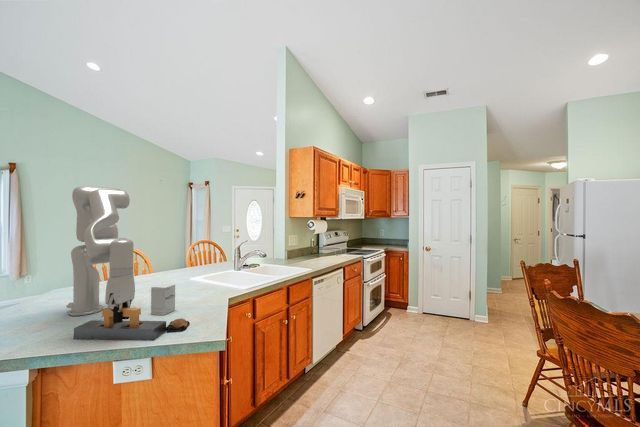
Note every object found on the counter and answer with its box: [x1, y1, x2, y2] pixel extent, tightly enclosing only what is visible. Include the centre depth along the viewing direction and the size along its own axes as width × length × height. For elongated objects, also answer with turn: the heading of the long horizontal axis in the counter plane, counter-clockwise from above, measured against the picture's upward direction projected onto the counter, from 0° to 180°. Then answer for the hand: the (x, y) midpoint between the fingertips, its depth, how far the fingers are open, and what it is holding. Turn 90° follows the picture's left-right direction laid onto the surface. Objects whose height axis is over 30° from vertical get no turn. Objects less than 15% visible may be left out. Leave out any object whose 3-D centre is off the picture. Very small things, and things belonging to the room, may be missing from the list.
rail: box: [73, 320, 167, 341], centre depth 109 cm, size 30×8×4 cm, turn 88°
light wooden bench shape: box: [101, 307, 142, 327], centre depth 109 cm, size 13×3×8 cm, turn 88°
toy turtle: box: [165, 318, 190, 334], centre depth 117 cm, size 11×8×4 cm
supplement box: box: [150, 283, 176, 316], centre depth 135 cm, size 7×7×13 cm
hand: (121, 320), depth 109 cm, fingers closed on light wooden bench shape, 2 cm apart
